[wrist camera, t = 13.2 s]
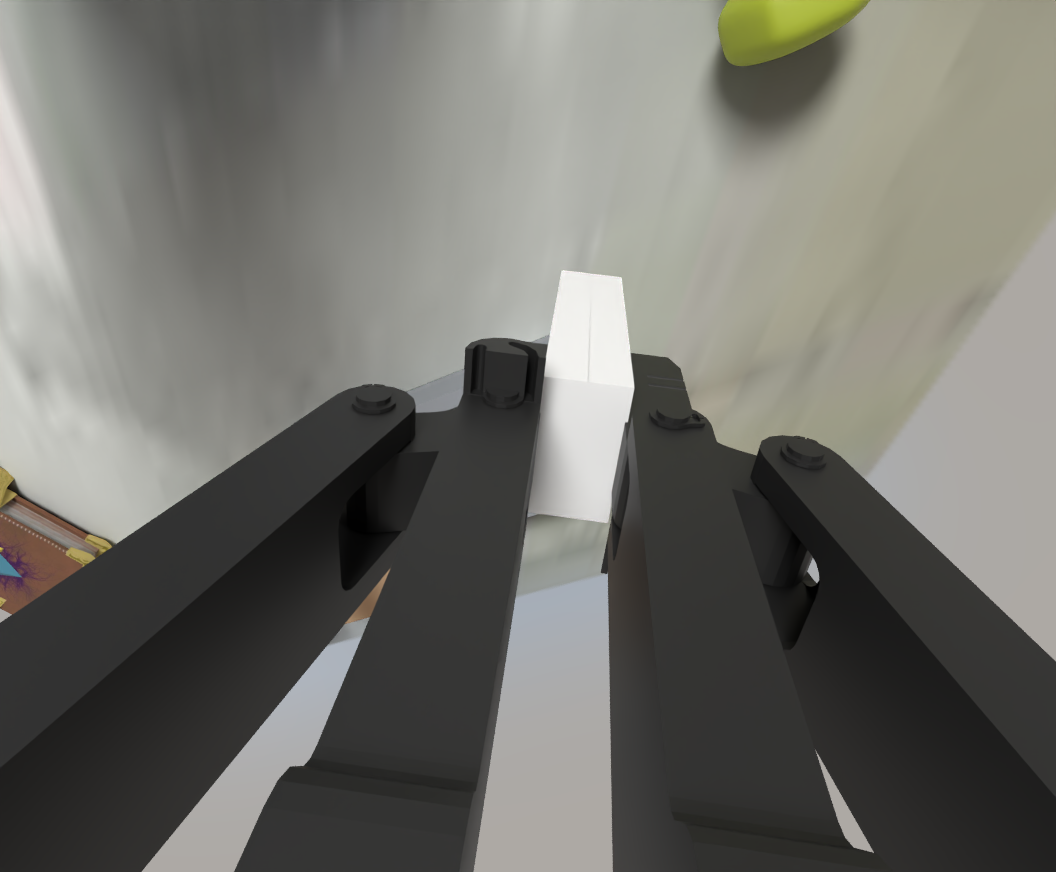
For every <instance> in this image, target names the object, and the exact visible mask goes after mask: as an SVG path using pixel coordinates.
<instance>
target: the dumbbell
mask: <svg viewBox="0 0 1056 872" xmlns="http://www.w3.org/2000/svg"><path fill="white" fill-rule="evenodd" d="M869 1H870V0H729V1H728V2H727V3H726V5H725V7H724V8H723V10H722V12H721V15H720V17H719V22H718V32H719V37H720V42H721V45H722V49H723V52H724V55H725V57H726V59H727V61H729V62H730V63H731V64H733V65H736V66H750V65H755V64H759V63H763V62H767V61H770V60H774V59H777V58H780V57H783V56H785V55H788V54H790V53H793V52H795V51H797V50H799V49H802V48H804V47H806V46H808V45H810V44H812V43H814V42H816V41H818V40H819V39H821V38H823V37H825V36H827V35H829V34H831V33H832V32H834V31H836V30H837V29H839V28H841V27H842V26H843V25H845V24H846V23H848V22H849V21H850V20H851V19H853V18H854V17H855V16H856V15H857V14H858V13H859V12H860V11H861V10H862V9H863V8H864V7H865V6H866V5H867V4H868V2H869Z"/></svg>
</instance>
